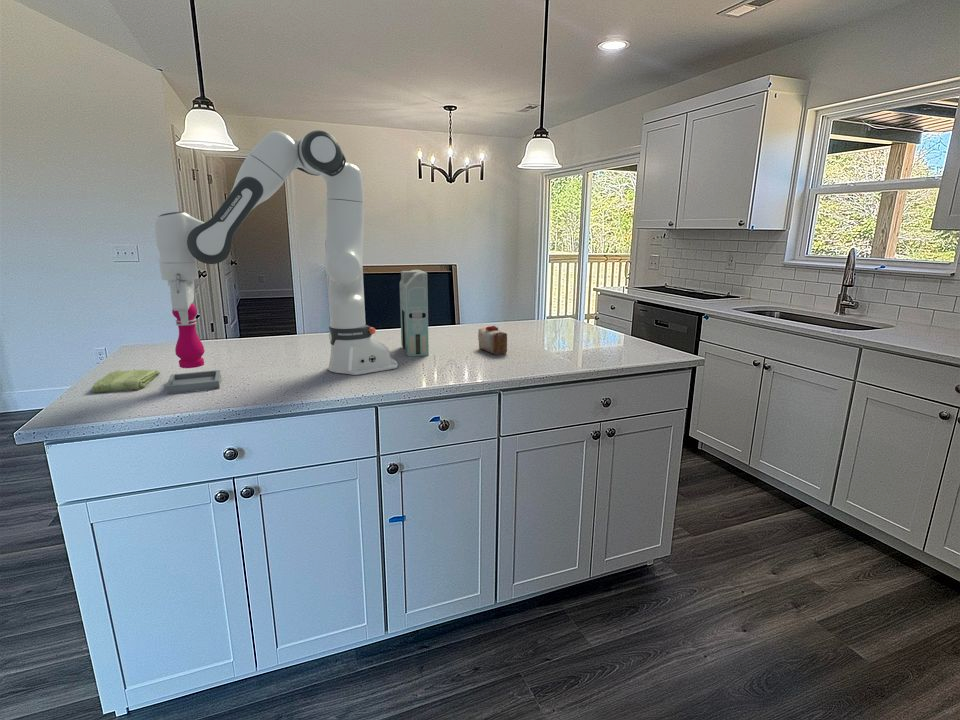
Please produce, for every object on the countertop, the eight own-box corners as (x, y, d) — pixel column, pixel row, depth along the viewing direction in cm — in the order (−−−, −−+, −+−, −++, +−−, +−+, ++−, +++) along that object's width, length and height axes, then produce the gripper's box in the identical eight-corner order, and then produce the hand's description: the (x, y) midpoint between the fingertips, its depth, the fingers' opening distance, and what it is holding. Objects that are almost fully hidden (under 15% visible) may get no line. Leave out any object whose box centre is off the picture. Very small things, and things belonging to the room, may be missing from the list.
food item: (475, 348, 194) (475, 323, 191) (493, 346, 197) (493, 322, 195) (492, 356, 182) (492, 329, 180) (510, 353, 186) (511, 327, 183)
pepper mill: (193, 369, 139) (184, 298, 134) (171, 367, 140) (161, 297, 135) (211, 363, 146) (203, 295, 141) (190, 361, 147) (181, 294, 142)
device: (401, 347, 195) (399, 269, 187) (420, 346, 197) (419, 269, 189) (407, 356, 179) (405, 273, 172) (428, 355, 182) (427, 272, 174)
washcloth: (162, 375, 156) (160, 365, 155) (143, 391, 140) (141, 381, 139) (113, 378, 152) (112, 368, 151) (88, 395, 136) (86, 384, 135)
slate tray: (220, 376, 153) (220, 369, 152) (219, 388, 142) (218, 380, 141) (172, 381, 148) (171, 374, 147) (166, 394, 136) (165, 386, 136)
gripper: (189, 275, 129) (196, 327, 132) (195, 270, 147) (201, 316, 150) (161, 276, 126) (168, 329, 130) (170, 270, 144) (177, 317, 148)
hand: (186, 322), depth 140 cm, fingers closed on pepper mill, 5 cm apart
